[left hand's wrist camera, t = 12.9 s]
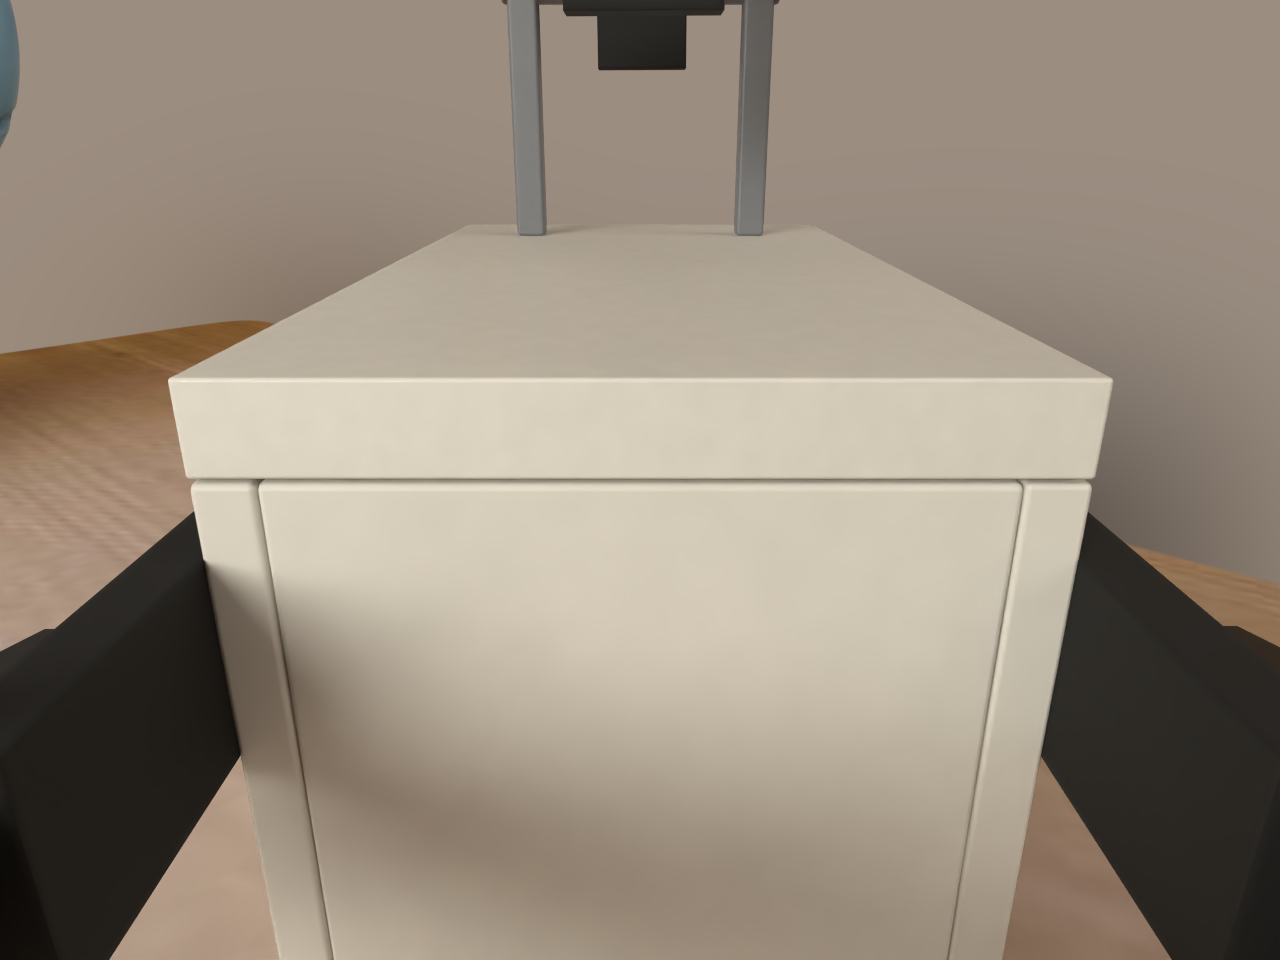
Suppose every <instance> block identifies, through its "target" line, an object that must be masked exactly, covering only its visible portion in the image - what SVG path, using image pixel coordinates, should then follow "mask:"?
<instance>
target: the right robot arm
mask: <svg viewBox="0 0 1280 960" xmlns="http://www.w3.org/2000/svg"><path fill="white" fill-rule="evenodd" d="M724 4H725V0H563V11H564V13H565V14H566V16H597V27H598V69H599V70H685V69H686V16H687V15H688V16H689V15H721V14H722V12H723V11H724ZM19 74H20V59H19V43H18V35H17V29H16V23H15V18H14V13H13V9H12V5H11V2H10V0H0V147H1V145H2V143H3V141H4V139H5V137H6V135H7V133H8V131H9V126H10V120H11V114H12V111H13V110H14V109H15V106H16V102H17V97H18V89H19Z"/></svg>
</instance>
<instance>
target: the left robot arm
mask: <svg viewBox="0 0 1280 960" xmlns="http://www.w3.org/2000/svg"><path fill="white" fill-rule="evenodd" d="M240 755H241V754H240V749H239V744H238V738H237V733H236V728H235V723H234V717H233V712H232V707H231V701H230V696H229V691H228V686H227V680H226V675H225V670H224V665H223V659H222V654H221V649H220V643H219V638H218V633H217V628H216V622H215V617H214V612H213V607H212V601H211V596H210V591H209V585H208V580H207V575H206V570H205V564H204V559H203V554H202V549H201V543H200V538H199V533H198V528H197V522H196V517H195V512H193V513H191V514H190V515H189V516H188V517H187V518H185V519H184V520H183V521H182V522H181V523H180V524H178V525H177V526H176V527H175V528H174V529H172V530H171V531H170V532H169V533H168V534H167V535H165V536H164V537H163V538H162V539H161V540H159V541H158V542H157V543H156V544H155V545H154V546H152V547H151V548H150V549H149V550H148V551H146V552H145V553H144V554H143V555H142V556H141V557H139V558H138V559H137V560H136V561H135V562H133V563H132V564H131V565H130V566H129V567H128V568H126V569H125V570H124V571H123V572H122V573H120V574H119V575H118V576H117V577H116V578H114V579H113V580H112V581H111V582H110V583H109V584H107V585H106V586H105V587H104V588H103V589H101V590H100V591H99V592H98V593H97V594H96V595H94V596H93V597H92V598H91V599H90V600H88V601H87V602H86V603H85V604H84V605H83V606H81V607H80V608H79V609H78V610H77V611H75V612H74V613H73V614H72V615H71V616H70V617H68V618H67V619H66V620H65V621H64V622H62V623H61V624H60V625H59V626H58V627H57V628H55V629H44V630H42V631H40V632H38V633H36V634H34V635H32V636H30V637H28V638H26V639H24V640H22V641H20V642H18V643H16V644H14V645H12V646H10V647H8V648H7V649H5V650H3V651H1V652H0V960H109V959H110V958H111V956H112V955H113V953H114V951H115V950H116V948H117V947H118V945H119V944H120V942H121V941H122V939H123V937H124V936H125V934H126V933H127V931H128V930H129V928H130V927H131V925H132V923H133V922H134V920H135V919H136V917H137V916H138V914H139V913H140V911H141V909H142V908H143V906H144V905H145V903H146V902H147V900H148V899H149V897H150V895H151V894H152V892H153V891H154V889H155V888H156V886H157V885H158V883H159V881H160V880H161V878H162V877H163V875H164V874H165V872H166V871H167V869H168V867H169V866H170V864H171V863H172V861H173V860H174V858H175V857H176V855H177V853H178V852H179V850H180V849H181V847H182V846H183V844H184V843H185V841H186V839H187V838H188V836H189V835H190V833H191V832H192V830H193V829H194V827H195V825H196V824H197V822H198V821H199V819H200V818H201V816H202V815H203V813H204V811H205V810H206V808H207V807H208V805H209V804H210V802H211V801H212V799H213V797H214V796H215V794H216V793H217V791H218V790H219V788H220V787H221V785H222V783H223V782H224V780H225V779H226V777H227V776H228V774H229V773H230V771H231V769H232V768H233V766H234V765H235V763H236V762H237V760H238V759H239V757H240ZM1041 757H1042V758H1043V760H1044V762H1045V763H1046V765H1047V766H1048V768H1049V769H1050V771H1051V772H1052V774H1053V776H1054V777H1055V779H1056V780H1057V782H1058V783H1059V785H1060V786H1061V788H1062V790H1063V791H1064V793H1065V794H1066V796H1067V797H1068V799H1069V800H1070V802H1071V804H1072V805H1073V807H1074V808H1075V810H1076V811H1077V813H1078V814H1079V816H1080V818H1081V819H1082V821H1083V822H1084V824H1085V825H1086V827H1087V828H1088V830H1089V832H1090V833H1091V835H1092V836H1093V838H1094V839H1095V841H1096V842H1097V844H1098V846H1099V847H1100V849H1101V850H1102V852H1103V853H1104V855H1105V856H1106V858H1107V860H1108V861H1109V863H1110V864H1111V866H1112V867H1113V869H1114V870H1115V872H1116V874H1117V875H1118V877H1119V878H1120V880H1121V881H1122V883H1123V884H1124V886H1125V888H1126V889H1127V891H1128V892H1129V894H1130V895H1131V897H1132V898H1133V900H1134V902H1135V903H1136V905H1137V906H1138V908H1139V909H1140V911H1141V912H1142V914H1143V915H1144V917H1145V919H1146V920H1147V922H1148V923H1149V925H1150V926H1151V928H1152V929H1153V931H1154V933H1155V934H1156V936H1157V937H1158V939H1159V940H1160V942H1161V943H1162V945H1163V947H1164V948H1165V950H1166V951H1167V953H1168V954H1169V956H1170V957H1171V959H1172V960H1280V647H1278V646H1276V645H1274V644H1272V643H1270V642H1268V641H1266V640H1264V639H1262V638H1260V637H1258V636H1256V635H1254V634H1252V633H1250V632H1248V631H1246V630H1244V629H1242V628H1240V627H1238V626H1222V625H1221V624H1220V623H1219V622H1218V621H1216V620H1215V619H1214V618H1213V617H1212V616H1210V615H1209V614H1208V613H1207V612H1206V611H1205V610H1203V609H1202V608H1201V607H1200V606H1199V605H1197V604H1196V603H1195V602H1194V601H1193V600H1192V599H1190V598H1189V597H1188V596H1187V595H1186V594H1184V593H1183V592H1182V591H1181V590H1180V589H1179V588H1177V587H1176V586H1175V585H1174V584H1173V583H1171V582H1170V581H1169V580H1168V579H1167V578H1165V577H1164V576H1163V575H1162V574H1161V573H1160V572H1158V571H1157V570H1156V569H1155V568H1154V567H1152V566H1151V565H1150V564H1149V563H1148V562H1147V561H1145V560H1144V559H1143V558H1142V557H1141V556H1139V555H1138V554H1137V553H1136V552H1135V551H1134V550H1132V549H1131V548H1130V547H1129V546H1128V545H1126V544H1125V543H1124V542H1123V541H1122V540H1120V539H1119V538H1118V537H1117V536H1116V535H1115V534H1113V533H1112V532H1111V531H1110V530H1109V529H1107V528H1106V527H1105V526H1104V525H1103V524H1102V523H1100V522H1099V521H1098V520H1097V519H1096V518H1094V517H1093V516H1092V515H1091V514H1090V513H1089V512H1088V513H1087V518H1086V523H1085V529H1084V534H1083V539H1082V544H1081V550H1080V555H1079V560H1078V564H1077V569H1076V574H1075V580H1074V585H1073V590H1072V595H1071V600H1070V606H1069V611H1068V616H1067V621H1066V627H1065V632H1064V637H1063V642H1062V648H1061V653H1060V658H1059V663H1058V669H1057V674H1056V679H1055V684H1054V689H1053V695H1052V700H1051V705H1050V710H1049V716H1048V721H1047V726H1046V731H1045V737H1044V742H1043V747H1042V752H1041Z"/></svg>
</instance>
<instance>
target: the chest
mask: <svg viewBox="0 0 1280 960" xmlns="http://www.w3.org/2000/svg"><path fill="white" fill-rule="evenodd" d="M1091 492H1092V488H1091V485H1090V484H1089V483H1088V482H1087V481H1085V480H1084V479H198V480H197V481H196V482H194V483H193V484H192V487H191V496H192V501H193V506H194V512H195V517H196V522H197V528H198V533H199V538H200V543H201V549H202V554H203V559H204V564H205V570H206V575H207V580H208V585H209V591H210V596H211V601H212V607H213V612H214V617H215V622H216V628H217V633H218V638H219V643H220V649H221V654H222V659H223V665H224V670H225V675H226V680H227V686H228V691H229V696H230V701H231V707H232V712H233V717H234V723H235V728H236V733H237V738H238V744H239V749H240V754H241V759H242V765H243V770H244V775H245V781H246V786H247V791H248V796H249V802H250V807H251V812H252V817H253V823H254V828H255V833H256V839H257V844H258V849H259V854H260V860H261V865H262V870H263V875H264V881H265V886H266V891H267V897H268V902H269V907H270V912H271V918H272V923H273V928H274V933H275V939H276V944H277V949H278V955H279V960H1002V957H1003V952H1004V947H1005V942H1006V936H1007V931H1008V926H1009V921H1010V915H1011V910H1012V905H1013V900H1014V894H1015V889H1016V884H1017V879H1018V874H1019V868H1020V863H1021V858H1022V853H1023V847H1024V842H1025V837H1026V832H1027V827H1028V821H1029V816H1030V811H1031V806H1032V800H1033V795H1034V790H1035V785H1036V779H1037V774H1038V769H1039V764H1040V759H1041V752H1042V747H1043V742H1044V737H1045V731H1046V726H1047V721H1048V716H1049V710H1050V705H1051V700H1052V695H1053V689H1054V684H1055V679H1056V674H1057V669H1058V663H1059V658H1060V653H1061V648H1062V642H1063V637H1064V632H1065V627H1066V621H1067V616H1068V611H1069V606H1070V600H1071V595H1072V590H1073V585H1074V580H1075V574H1076V569H1077V564H1078V560H1079V555H1080V550H1081V544H1082V539H1083V534H1084V529H1085V523H1086V518H1087V513H1088V508H1089V502H1090V497H1091Z"/></svg>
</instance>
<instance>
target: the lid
mask: <svg viewBox="0 0 1280 960" xmlns="http://www.w3.org/2000/svg"><path fill="white" fill-rule="evenodd" d="M502 2H503V3H504V4H506V5H507V13H508V35H509V56H510V78H511V99H512V121H513V143H514V164H515V186H516V207H517V225H467V226H465V227H463V228H461V229H460V230H458V231H456V232H454V233H452V234H450V235H448V236H446V237H444V238H442V239H440V240H438V241H436V242H434V243H432V244H430V245H428V246H426V247H424V248H422V249H421V250H419V251H417V252H415V253H413V254H411V255H409V256H407V257H405V258H403V259H401V260H399V261H397V262H395V263H393V264H391V265H389V266H387V267H385V268H383V269H382V270H380V271H378V272H376V273H374V274H372V275H370V276H368V277H366V278H364V279H362V280H360V281H358V282H356V283H354V284H352V285H350V286H348V287H347V288H344V289H343V290H341V291H339V292H337V293H335V294H333V295H331V296H329V297H327V298H325V299H323V300H321V301H319V302H317V303H315V304H313V305H311V306H309V307H307V308H306V309H304V310H302V311H300V312H298V313H296V314H294V315H292V316H290V317H288V318H286V319H284V320H282V321H280V322H278V323H276V324H274V325H272V326H270V327H268V328H267V329H265V330H263V331H261V332H259V333H257V334H255V335H253V336H251V337H249V338H247V339H245V340H243V341H241V342H239V343H237V344H235V345H233V346H231V347H229V348H228V349H226V350H224V351H222V352H220V353H218V354H216V355H214V356H212V357H210V358H208V359H206V360H204V361H202V362H200V363H198V364H196V365H194V366H192V367H190V368H189V369H187V370H185V371H183V372H181V373H179V374H177V375H175V376H173V377H171V378H169V381H168V384H169V389H170V394H171V400H172V405H173V410H174V415H175V421H176V426H177V431H178V436H179V442H180V447H181V452H182V457H183V463H184V468H185V473H186V476H187V478H190V479H1093V478H1094V477H1095V475H1096V470H1097V465H1098V459H1099V455H1100V449H1101V444H1102V439H1103V434H1104V429H1105V423H1106V418H1107V413H1108V408H1109V402H1110V397H1111V392H1112V386H1113V379H1112V378H1110V377H1108V376H1106V375H1104V374H1102V373H1100V372H1098V371H1096V370H1094V369H1092V368H1090V367H1088V366H1086V365H1084V364H1082V363H1081V362H1079V361H1077V360H1075V359H1073V358H1071V357H1069V356H1067V355H1065V354H1063V353H1061V352H1059V351H1057V350H1055V349H1053V348H1051V347H1049V346H1047V345H1045V344H1043V343H1042V342H1040V341H1038V340H1036V339H1034V338H1032V337H1030V336H1028V335H1026V334H1024V333H1022V332H1020V331H1018V330H1016V329H1014V328H1012V327H1010V326H1008V325H1006V324H1004V323H1003V322H1001V321H999V320H997V319H995V318H993V317H991V316H989V315H987V314H985V313H983V312H981V311H979V310H977V309H975V308H973V307H971V306H969V305H967V304H965V303H963V302H961V301H960V300H958V299H956V298H954V297H952V296H950V295H948V294H946V293H944V292H942V291H940V290H938V289H936V288H934V287H932V286H930V285H928V284H926V283H924V282H922V281H921V280H919V279H917V278H915V277H913V276H911V275H909V274H907V273H905V272H903V271H901V270H899V269H897V268H895V267H893V266H891V265H889V264H887V263H885V262H883V261H882V260H880V259H878V258H876V257H874V256H872V255H870V254H868V253H866V252H864V251H862V250H860V249H858V248H856V247H854V246H852V245H850V244H848V243H846V242H844V241H843V240H840V239H839V238H837V237H835V236H833V235H831V234H829V233H827V232H825V231H823V230H821V229H819V228H817V227H815V226H813V225H764V205H765V184H766V163H767V141H768V120H769V99H770V77H771V56H772V35H773V14H774V5H775V4H778V3H779V0H725V4H724V5H742V21H741V48H740V76H739V104H738V131H737V159H736V188H735V215H734V225H547V219H546V191H545V162H544V133H543V105H542V77H541V48H540V19H539V5H563V0H502Z"/></svg>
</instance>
